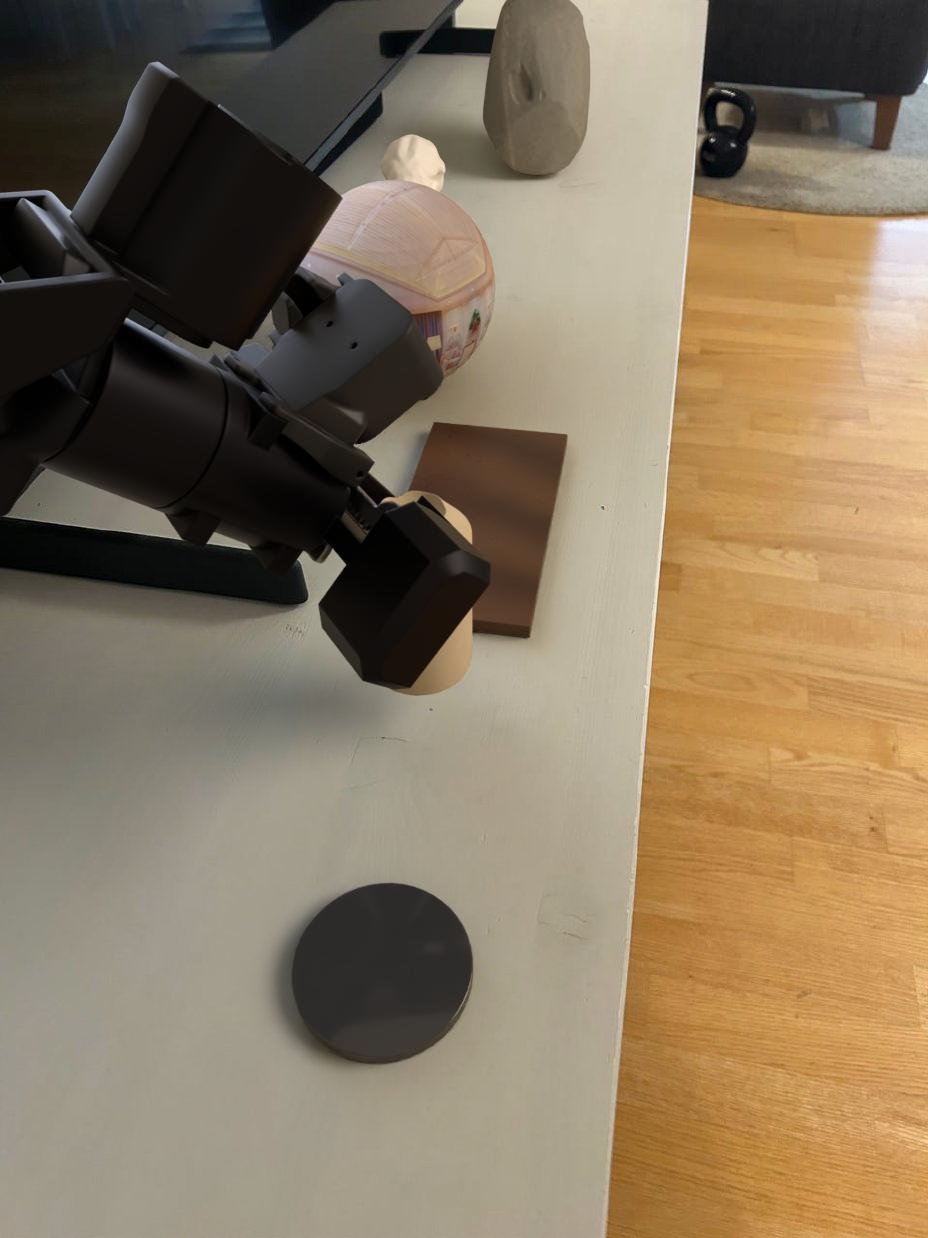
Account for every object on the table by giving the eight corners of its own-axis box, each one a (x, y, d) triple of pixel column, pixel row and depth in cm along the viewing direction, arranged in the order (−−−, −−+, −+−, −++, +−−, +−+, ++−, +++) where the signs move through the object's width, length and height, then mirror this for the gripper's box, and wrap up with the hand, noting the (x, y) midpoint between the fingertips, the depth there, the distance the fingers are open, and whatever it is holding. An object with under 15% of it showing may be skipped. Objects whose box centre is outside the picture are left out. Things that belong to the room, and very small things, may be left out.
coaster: (350, 1103, 40) (348, 1097, 39) (262, 950, 44) (259, 942, 44) (509, 994, 43) (509, 985, 42) (411, 861, 48) (410, 852, 47)
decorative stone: (481, 183, 107) (480, 27, 96) (485, 128, 119) (485, -16, 108) (591, 183, 106) (603, 26, 96) (584, 127, 118) (593, -17, 108)
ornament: (297, 344, 83) (269, 160, 72) (468, 320, 85) (466, 139, 75) (323, 443, 72) (295, 245, 62) (517, 412, 75) (522, 217, 64)
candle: (436, 713, 49) (430, 563, 42) (347, 671, 51) (327, 521, 44) (491, 645, 52) (494, 496, 45) (406, 608, 54) (396, 460, 47)
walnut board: (529, 638, 58) (530, 626, 57) (366, 618, 59) (365, 606, 59) (567, 445, 72) (567, 433, 71) (433, 432, 73) (433, 421, 73)
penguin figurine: (445, 127, 94) (430, 188, 87) (449, 212, 101) (434, 275, 93) (381, 125, 95) (360, 186, 87) (388, 210, 101) (369, 273, 94)
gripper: (439, 359, 28) (673, 525, 40) (196, 161, 39) (436, 336, 51) (232, 654, 31) (510, 727, 43) (59, 389, 42) (318, 506, 54)
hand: (439, 554), depth 48 cm, fingers closed on candle, 5 cm apart
